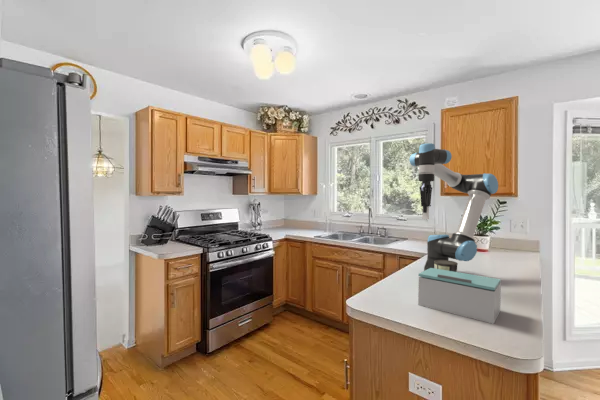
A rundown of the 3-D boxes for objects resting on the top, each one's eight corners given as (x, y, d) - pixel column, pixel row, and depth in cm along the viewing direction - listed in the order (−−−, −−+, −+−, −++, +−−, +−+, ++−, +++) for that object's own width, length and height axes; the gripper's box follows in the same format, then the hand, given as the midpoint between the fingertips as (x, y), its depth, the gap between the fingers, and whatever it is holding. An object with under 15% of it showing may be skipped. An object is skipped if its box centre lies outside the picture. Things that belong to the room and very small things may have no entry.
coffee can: (453, 287, 147) (453, 260, 147) (460, 294, 137) (460, 265, 137) (431, 286, 149) (431, 259, 149) (436, 293, 139) (437, 263, 139)
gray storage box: (430, 295, 136) (431, 270, 136) (500, 310, 118) (500, 282, 118) (418, 304, 124) (418, 277, 124) (493, 323, 106) (494, 291, 106)
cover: (430, 269, 135) (430, 265, 135) (500, 281, 118) (500, 276, 118) (418, 276, 123) (418, 271, 123) (494, 290, 105) (494, 284, 105)
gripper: (423, 174, 159) (422, 217, 160) (414, 173, 149) (413, 219, 150) (437, 174, 154) (436, 218, 155) (429, 172, 144) (429, 220, 145)
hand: (425, 218), depth 152 cm, fingers closed
